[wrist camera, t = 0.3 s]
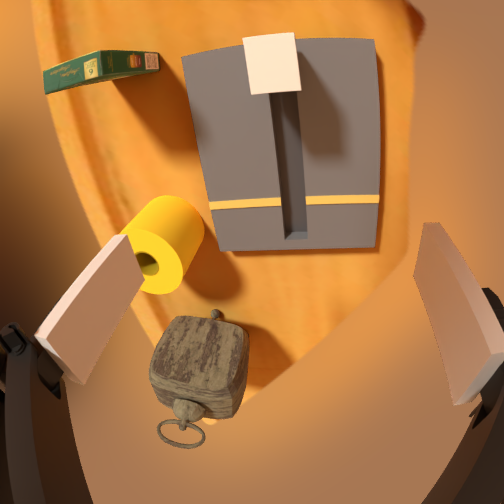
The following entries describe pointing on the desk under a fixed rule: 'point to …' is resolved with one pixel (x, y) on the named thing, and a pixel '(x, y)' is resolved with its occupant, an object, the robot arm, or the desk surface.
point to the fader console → (290, 148)
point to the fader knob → (272, 63)
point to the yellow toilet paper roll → (165, 241)
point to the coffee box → (99, 68)
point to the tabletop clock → (200, 371)
